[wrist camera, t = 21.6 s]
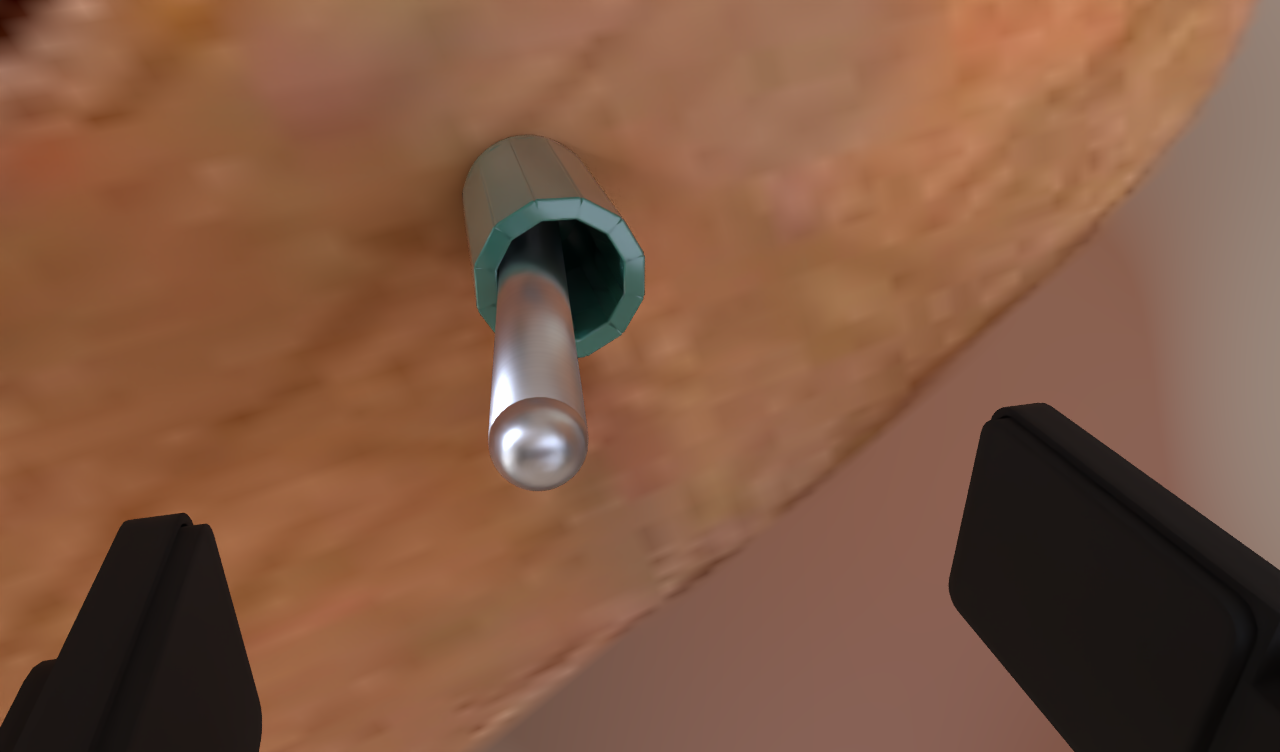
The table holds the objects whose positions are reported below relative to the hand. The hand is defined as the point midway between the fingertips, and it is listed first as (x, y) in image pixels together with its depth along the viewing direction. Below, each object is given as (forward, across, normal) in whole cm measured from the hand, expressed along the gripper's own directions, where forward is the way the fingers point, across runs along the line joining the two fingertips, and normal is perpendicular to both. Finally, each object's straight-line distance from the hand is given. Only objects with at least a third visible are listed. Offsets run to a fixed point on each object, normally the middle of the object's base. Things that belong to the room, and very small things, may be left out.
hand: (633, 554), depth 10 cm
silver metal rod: (+16, -1, 0) cm, 16 cm away
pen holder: (+17, -1, 0) cm, 17 cm away
